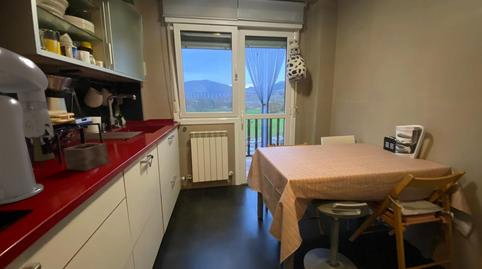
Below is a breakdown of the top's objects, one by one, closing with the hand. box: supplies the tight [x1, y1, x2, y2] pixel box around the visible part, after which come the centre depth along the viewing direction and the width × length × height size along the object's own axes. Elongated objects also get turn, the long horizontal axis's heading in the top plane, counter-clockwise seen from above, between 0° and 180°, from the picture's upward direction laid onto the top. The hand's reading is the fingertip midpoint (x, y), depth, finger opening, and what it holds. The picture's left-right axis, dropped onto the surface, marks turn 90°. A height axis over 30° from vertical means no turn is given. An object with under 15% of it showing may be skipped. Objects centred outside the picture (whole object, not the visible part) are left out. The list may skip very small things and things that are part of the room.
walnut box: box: [62, 142, 110, 172], centre depth 96 cm, size 11×11×9 cm
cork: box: [31, 134, 56, 162], centre depth 84 cm, size 6×6×11 cm
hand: (43, 153), depth 84 cm, fingers closed on cork, 4 cm apart
